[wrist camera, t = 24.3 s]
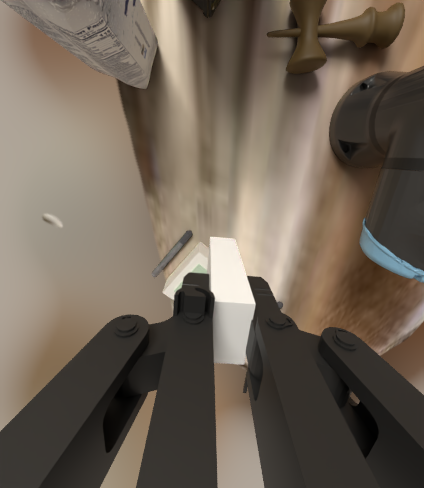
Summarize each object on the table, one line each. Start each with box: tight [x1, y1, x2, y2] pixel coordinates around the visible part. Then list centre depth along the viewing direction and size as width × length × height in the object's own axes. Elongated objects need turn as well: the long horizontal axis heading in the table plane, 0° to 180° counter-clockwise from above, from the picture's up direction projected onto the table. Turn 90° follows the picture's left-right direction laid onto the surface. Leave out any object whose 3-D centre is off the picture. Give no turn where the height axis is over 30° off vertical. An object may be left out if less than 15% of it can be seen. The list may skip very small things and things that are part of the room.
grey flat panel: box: [152, 231, 283, 308], centre depth 54 cm, size 29×14×1 cm, turn 50°
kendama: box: [267, 0, 405, 74], centre depth 36 cm, size 6×10×20 cm
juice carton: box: [1, 0, 158, 89], centre depth 26 cm, size 9×10×27 cm
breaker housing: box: [163, 242, 209, 300], centre depth 52 cm, size 22×12×7 cm, turn 50°
